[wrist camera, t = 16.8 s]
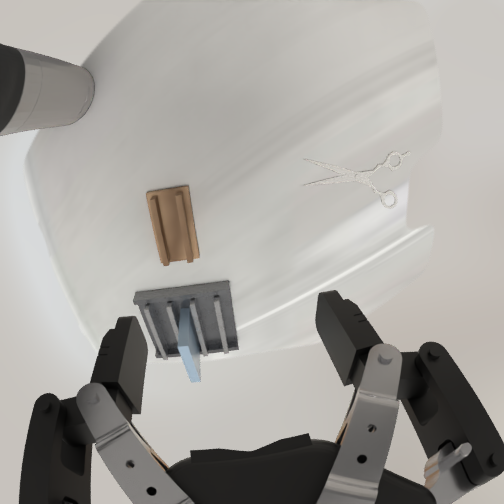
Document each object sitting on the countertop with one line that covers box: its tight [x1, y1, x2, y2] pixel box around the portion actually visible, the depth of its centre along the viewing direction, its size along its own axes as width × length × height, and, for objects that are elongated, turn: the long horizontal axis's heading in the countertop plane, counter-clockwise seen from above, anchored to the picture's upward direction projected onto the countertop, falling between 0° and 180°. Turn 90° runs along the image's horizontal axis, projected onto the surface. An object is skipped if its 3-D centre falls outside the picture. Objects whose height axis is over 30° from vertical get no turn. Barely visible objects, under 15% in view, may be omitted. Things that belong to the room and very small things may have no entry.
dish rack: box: [133, 281, 239, 360], centre depth 46 cm, size 16×14×4 cm
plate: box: [178, 308, 201, 382], centre depth 43 cm, size 2×9×9 cm, turn 4°
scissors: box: [304, 151, 410, 208], centre depth 40 cm, size 11×1×20 cm
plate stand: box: [146, 186, 199, 266], centre depth 38 cm, size 6×11×3 cm, turn 4°
